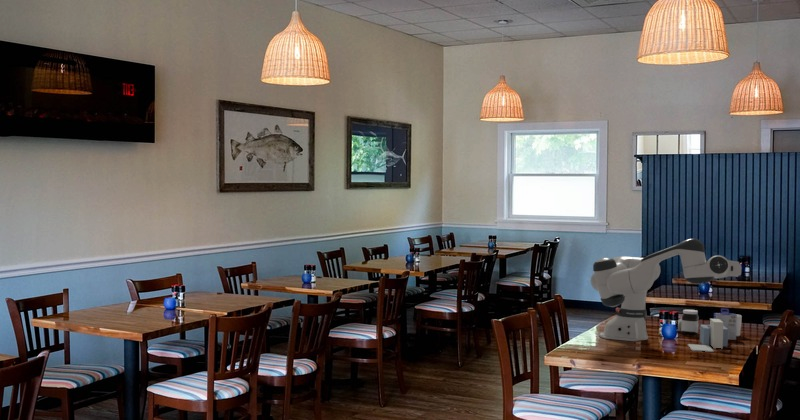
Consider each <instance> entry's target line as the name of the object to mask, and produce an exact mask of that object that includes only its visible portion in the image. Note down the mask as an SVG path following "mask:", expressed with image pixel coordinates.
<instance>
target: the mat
mask: <svg viewBox="0 0 800 420" xmlns="http://www.w3.org/2000/svg"><path fill="white" fill-rule="evenodd" d="M687 347H688V348H689V347H690V348H689V349H690V350H691V351H692V352H702V351H705V352H707V353H714V352H715V351H714V349H713V348H712V347H711V346H710V344H709V345H703V344H693V343H688V344H687Z"/></svg>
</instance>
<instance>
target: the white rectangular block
mask: <svg viewBox="0 0 800 420" xmlns="http://www.w3.org/2000/svg"><path fill="white" fill-rule="evenodd" d="M709 325H710V335H709V346H710V345H711V346H712V347H713V348H712V347H711V346H710V347H711V348H712V349H716V348H721V349H720V350H723V347H724V346H723V322H722V321H721V320H720V319H714V318H709Z"/></svg>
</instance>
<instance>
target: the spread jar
mask: <svg viewBox="0 0 800 420" xmlns="http://www.w3.org/2000/svg"><path fill="white" fill-rule="evenodd" d="M682 313H683V314H682V316H681V318H679V319H678V320H677V321H678V331H677V332H681V334H683V335H687V334H690V335H689V336H696V334H697V335H698V333H699V329H700V324H699V321H700V319H699V318H700V317H699V315H698V313H699V311H698V310H697V309H696V310H695V309H683V310H682Z"/></svg>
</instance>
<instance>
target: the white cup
mask: <svg viewBox="0 0 800 420" xmlns="http://www.w3.org/2000/svg"><path fill="white" fill-rule="evenodd" d="M735 314H736V313H735ZM736 315H737V321H736V337H740V336H741V330H742V329H741V328H742V317H743V316H742V315H741V314H736Z"/></svg>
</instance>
